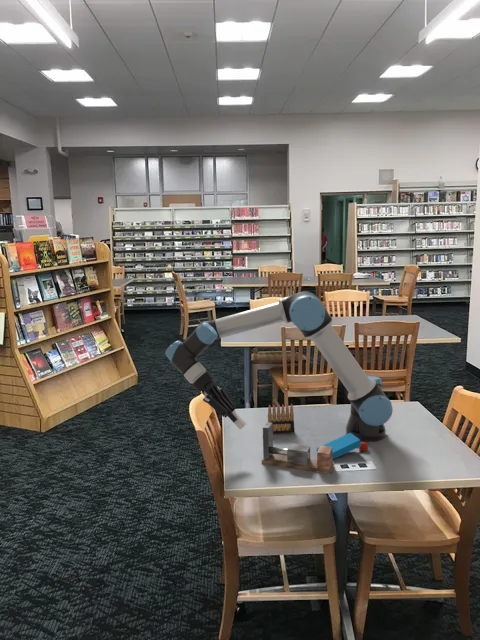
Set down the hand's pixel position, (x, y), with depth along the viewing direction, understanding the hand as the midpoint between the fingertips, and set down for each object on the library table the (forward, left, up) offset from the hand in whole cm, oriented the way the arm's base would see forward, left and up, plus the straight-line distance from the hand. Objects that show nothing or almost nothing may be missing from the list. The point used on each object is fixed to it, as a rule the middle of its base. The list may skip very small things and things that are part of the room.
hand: (243, 426), depth 174 cm
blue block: (-36, -2, -12) cm, 38 cm away
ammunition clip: (-15, -21, -12) cm, 28 cm away
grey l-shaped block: (-15, +5, -10) cm, 19 cm away
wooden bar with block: (-19, +7, -11) cm, 23 cm away
